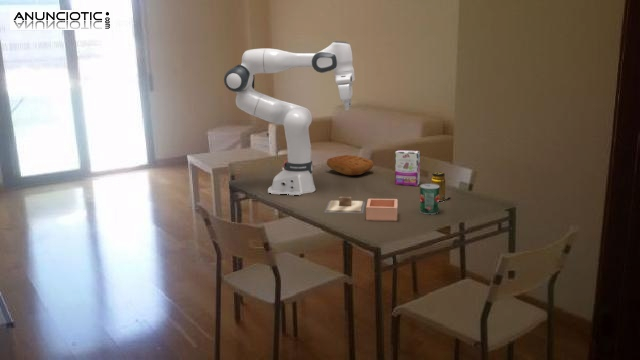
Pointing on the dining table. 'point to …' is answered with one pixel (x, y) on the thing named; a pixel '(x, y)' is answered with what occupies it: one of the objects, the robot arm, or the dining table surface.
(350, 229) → the dining table surface
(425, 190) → the canned tomato
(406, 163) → the candy bar box
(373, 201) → the rectangular open box
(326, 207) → the mat
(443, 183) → the condiment
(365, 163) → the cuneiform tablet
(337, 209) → the lid
